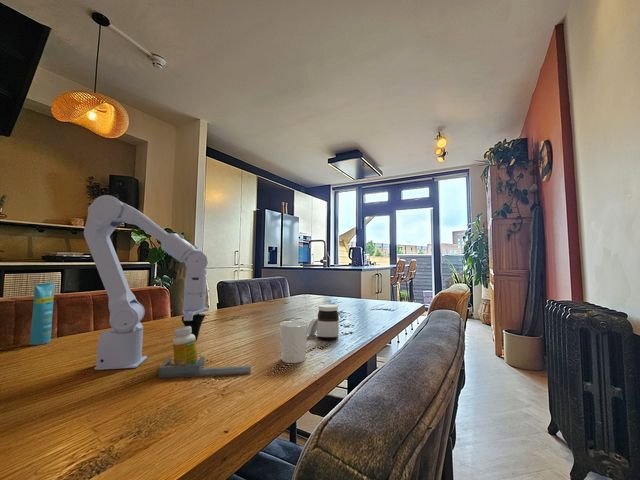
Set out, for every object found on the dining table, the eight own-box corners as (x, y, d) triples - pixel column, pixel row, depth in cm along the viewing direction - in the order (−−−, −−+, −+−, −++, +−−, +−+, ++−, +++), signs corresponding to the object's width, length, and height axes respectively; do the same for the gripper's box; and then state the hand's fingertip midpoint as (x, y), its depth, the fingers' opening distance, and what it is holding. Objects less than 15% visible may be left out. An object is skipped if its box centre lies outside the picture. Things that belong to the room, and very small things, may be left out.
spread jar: (339, 342, 101) (339, 308, 102) (306, 342, 101) (306, 307, 102) (337, 333, 113) (337, 302, 114) (307, 333, 113) (308, 302, 114)
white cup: (311, 357, 86) (312, 322, 86) (298, 366, 79) (299, 328, 79) (288, 353, 89) (289, 319, 90) (273, 361, 82) (274, 324, 82)
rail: (158, 378, 69) (158, 367, 69) (166, 368, 75) (167, 358, 76) (250, 373, 73) (250, 362, 73) (251, 363, 80) (251, 354, 80)
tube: (41, 346, 92) (45, 283, 93) (22, 346, 91) (27, 283, 92) (56, 339, 99) (60, 281, 100) (39, 340, 98) (43, 281, 99)
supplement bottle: (189, 369, 74) (185, 330, 74) (170, 370, 75) (166, 331, 75) (202, 361, 79) (198, 324, 79) (184, 361, 80) (180, 325, 80)
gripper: (205, 296, 79) (202, 348, 78) (213, 290, 93) (211, 334, 92) (176, 296, 77) (173, 349, 76) (189, 290, 91) (187, 334, 91)
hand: (192, 341), depth 84 cm, fingers closed
